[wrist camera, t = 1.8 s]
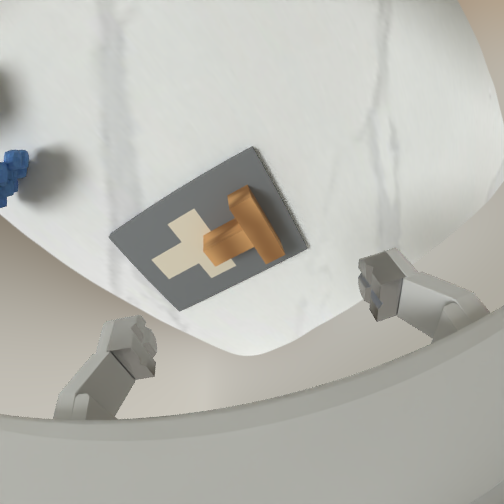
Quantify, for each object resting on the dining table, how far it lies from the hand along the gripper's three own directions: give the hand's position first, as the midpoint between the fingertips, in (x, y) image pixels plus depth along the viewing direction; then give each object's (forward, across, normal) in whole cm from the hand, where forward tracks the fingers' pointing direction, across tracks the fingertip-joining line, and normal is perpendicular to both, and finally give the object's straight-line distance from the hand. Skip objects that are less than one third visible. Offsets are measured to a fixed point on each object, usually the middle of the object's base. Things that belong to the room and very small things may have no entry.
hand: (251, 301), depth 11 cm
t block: (+29, +1, +14) cm, 32 cm away
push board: (+30, +5, +15) cm, 34 cm away
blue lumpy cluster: (+31, +29, -6) cm, 43 cm away
